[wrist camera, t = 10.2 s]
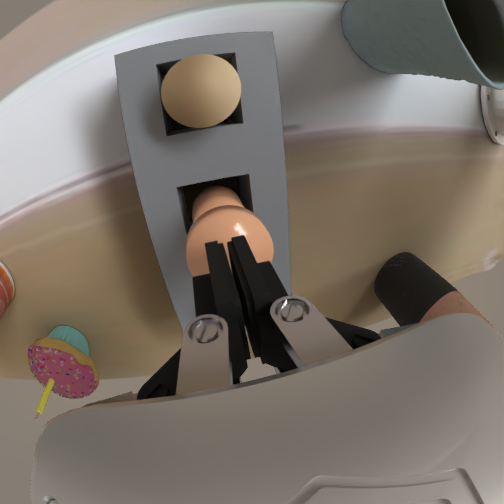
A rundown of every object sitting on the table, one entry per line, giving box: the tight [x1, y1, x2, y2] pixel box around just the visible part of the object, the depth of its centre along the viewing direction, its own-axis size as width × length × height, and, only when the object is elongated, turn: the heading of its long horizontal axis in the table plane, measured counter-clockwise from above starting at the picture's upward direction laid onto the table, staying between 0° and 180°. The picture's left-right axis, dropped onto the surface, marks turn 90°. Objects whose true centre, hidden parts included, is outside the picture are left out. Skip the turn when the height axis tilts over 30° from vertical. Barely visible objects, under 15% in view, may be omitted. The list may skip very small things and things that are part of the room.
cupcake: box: [28, 325, 99, 419], centre depth 20 cm, size 9×8×12 cm
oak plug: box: [161, 54, 241, 128], centre depth 14 cm, size 4×4×6 cm
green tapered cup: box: [341, 0, 504, 90], centre depth 11 cm, size 10×10×12 cm
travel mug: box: [375, 252, 498, 332], centre depth 23 cm, size 8×8×20 cm
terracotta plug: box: [186, 186, 274, 277], centre depth 15 cm, size 4×4×6 cm
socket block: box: [114, 32, 291, 332], centre depth 19 cm, size 9×22×5 cm, turn 6°
